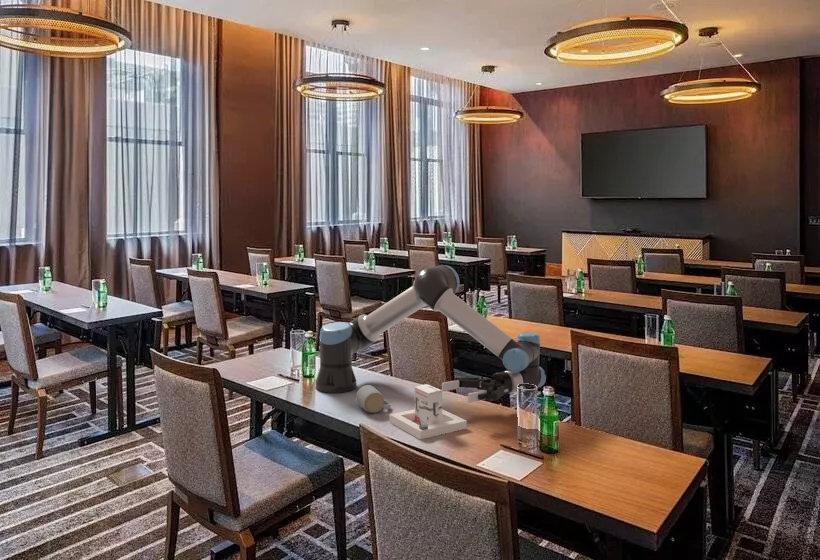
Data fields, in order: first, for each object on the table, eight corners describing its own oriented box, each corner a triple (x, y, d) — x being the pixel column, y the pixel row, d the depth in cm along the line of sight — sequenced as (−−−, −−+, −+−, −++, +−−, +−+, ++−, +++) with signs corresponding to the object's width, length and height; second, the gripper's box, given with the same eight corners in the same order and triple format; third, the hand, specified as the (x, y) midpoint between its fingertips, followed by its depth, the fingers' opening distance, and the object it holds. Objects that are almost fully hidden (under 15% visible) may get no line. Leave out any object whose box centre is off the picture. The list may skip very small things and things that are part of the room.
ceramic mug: (364, 415, 199) (365, 392, 198) (355, 408, 206) (355, 385, 205) (394, 411, 204) (395, 389, 203) (384, 404, 211) (385, 382, 210)
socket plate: (389, 422, 193) (389, 411, 193) (434, 412, 202) (434, 403, 202) (420, 439, 179) (420, 428, 179) (466, 428, 188) (466, 418, 188)
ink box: (413, 423, 193) (413, 385, 191) (426, 420, 196) (427, 383, 194) (429, 431, 186) (430, 393, 184) (443, 428, 188) (443, 390, 187)
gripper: (532, 403, 197) (480, 415, 185) (481, 384, 218) (432, 393, 206) (532, 380, 196) (480, 390, 184) (482, 363, 217) (432, 371, 205)
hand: (455, 392), depth 195 cm, fingers open, 13 cm apart
